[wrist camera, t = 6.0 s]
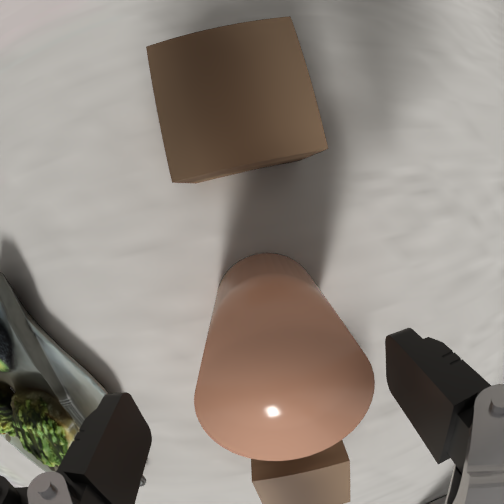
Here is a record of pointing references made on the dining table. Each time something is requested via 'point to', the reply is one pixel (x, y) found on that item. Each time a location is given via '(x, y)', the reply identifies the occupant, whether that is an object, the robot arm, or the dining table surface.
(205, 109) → the front walnut cube
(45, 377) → the salad plate
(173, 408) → the dining table surface
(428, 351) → the robot arm
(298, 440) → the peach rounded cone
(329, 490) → the back walnut cube
